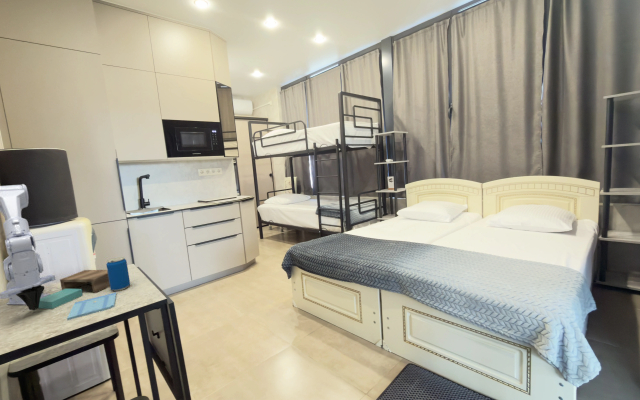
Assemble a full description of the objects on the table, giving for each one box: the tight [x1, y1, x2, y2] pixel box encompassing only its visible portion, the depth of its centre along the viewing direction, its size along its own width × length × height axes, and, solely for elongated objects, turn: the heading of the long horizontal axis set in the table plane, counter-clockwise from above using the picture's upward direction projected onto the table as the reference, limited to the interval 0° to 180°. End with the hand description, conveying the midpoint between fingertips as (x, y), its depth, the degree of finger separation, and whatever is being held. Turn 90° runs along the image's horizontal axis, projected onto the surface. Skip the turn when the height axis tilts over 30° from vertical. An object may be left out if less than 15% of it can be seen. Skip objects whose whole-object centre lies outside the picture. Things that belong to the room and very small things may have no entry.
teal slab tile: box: [38, 288, 84, 310], centre depth 103 cm, size 8×10×3 cm
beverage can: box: [105, 256, 131, 292], centre depth 110 cm, size 6×6×12 cm
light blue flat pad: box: [66, 292, 117, 321], centre depth 97 cm, size 14×12×1 cm
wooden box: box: [59, 269, 110, 294], centre depth 114 cm, size 16×10×6 cm, turn 81°
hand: (34, 309), depth 95 cm, fingers closed
